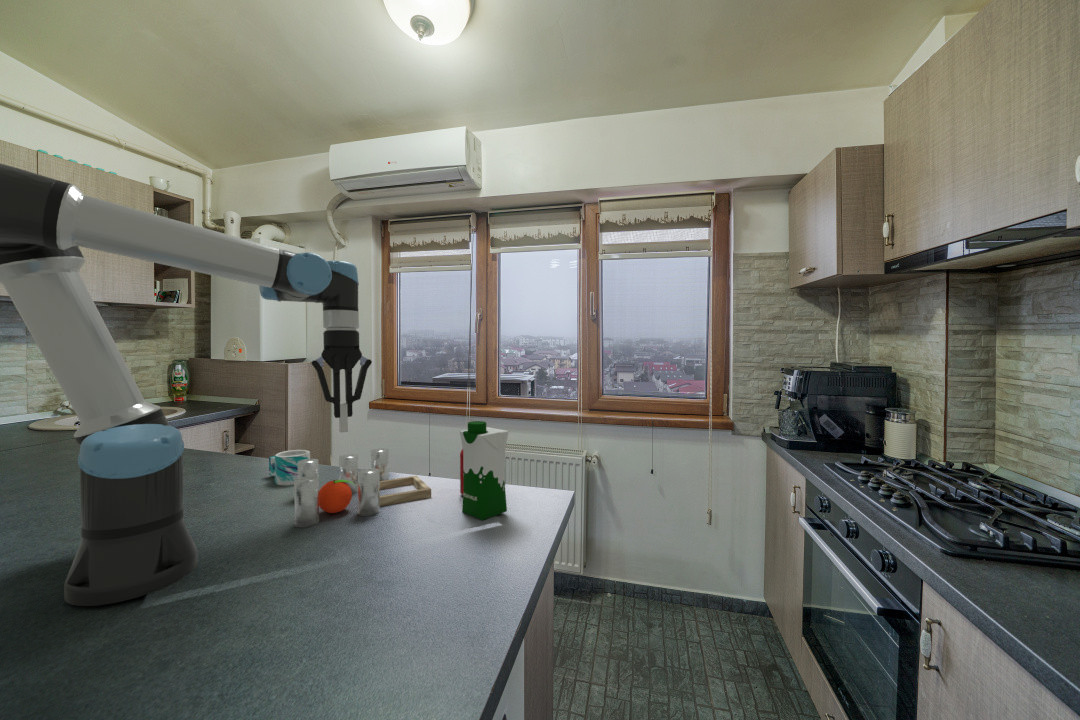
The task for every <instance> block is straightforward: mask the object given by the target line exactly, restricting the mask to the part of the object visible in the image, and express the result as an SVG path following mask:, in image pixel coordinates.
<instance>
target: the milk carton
mask: <svg viewBox="0 0 1080 720" xmlns="http://www.w3.org/2000/svg"><path fill="white" fill-rule="evenodd" d="M459 435H460V440H461V446H462V449H463V495H462V505H461V506H462V507H461V511H462V513H464V514H466V515H468V516H470V517H473V518H475V519H478V520H480V521H485V520H487V519H489V518H492V517H495V516H497V515H501V514H503V513H506V512H508V507H507V494H506V446H507V441H508V436H509V430H507V429H506V430H505V429H500V428H495V427H494V428H493V427H488V426H487V422H486V421H483V420H481V421H478V420H476V421H475V420H474V421H473V420H472V421H469V422H467V429H465V430H464V429H463V430H460V431H459Z"/></svg>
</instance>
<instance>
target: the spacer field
mask: <svg viewBox="0 0 1080 720" xmlns="http://www.w3.org/2000/svg"><path fill="white" fill-rule="evenodd" d="M389 452H390V451H389V448H385V447H384V448H381V447H380V448H374V449H371V450H370V468H365V469H361V470H359V455H358V454H356V453H355V454H354V453H351V454H350V453H349V454H343V455H339V457H338V463H339V464H338V466H339V467H338V471H339V472H338V477H339V478H338V480H347V481H350V482H352V483H353V484H352V483H350V482H345V483H347V484H348V485H349V486H350V488H351V491H352V495H353V494H355V493H357V500H358V501H357V514H358V515H359V516H362V517H363V516H364V517H366V516H373V515H376V514H379V513H380V512H381V511H380V510H381V508H380V507H381V506H380V496H381V495H380V481H384V480H390V477H389V476H390V475H389V474H390V472H389V471H390V470H389V469H390V468H389V463H390V462H389V458H390V457H389ZM319 472H320V471H319V459H318V458H310V459H305V460H300V461H298V479H296V480H295V481H294V485H293V486H294V527H296V528H300V529H301V528H309V527H312V526H315V525H317V524H319V523H320V506H319V490H320V484H319V483H320V480H319V479H320V478H319ZM355 486H356V487H355Z"/></svg>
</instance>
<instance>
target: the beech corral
mask: <svg viewBox="0 0 1080 720" xmlns="http://www.w3.org/2000/svg"><path fill="white" fill-rule="evenodd" d="M405 486H414V487H415V488H416V489H414V490H407V491H402V492H397V493H389V494H384V495H380V507H384V506H391V505H395V504H396V505H397V504H402V503H406V502H412V501H417V500H423V499H424V500H425V499H429V498H432V488H431V487H430V486H428V485H427V484H426V483H425V482H424V481H423V480H422V479H421V478H420V477H419V476H418V475H413V476H406V477H397V478H393V479H391V478H390V479H389V480H384V481H380V490H386V489H395V488H400V487H405Z"/></svg>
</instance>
